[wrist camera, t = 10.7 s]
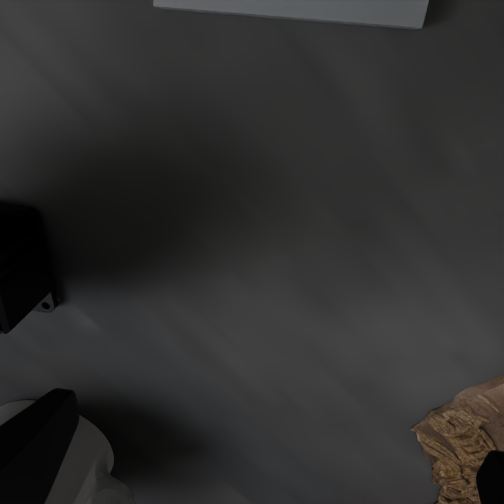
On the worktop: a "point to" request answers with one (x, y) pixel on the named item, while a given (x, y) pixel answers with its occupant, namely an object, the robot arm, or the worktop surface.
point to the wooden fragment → (463, 439)
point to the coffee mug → (82, 466)
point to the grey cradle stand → (315, 10)
